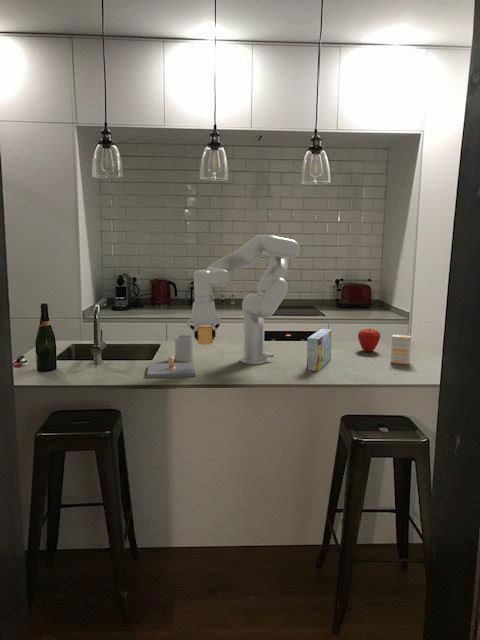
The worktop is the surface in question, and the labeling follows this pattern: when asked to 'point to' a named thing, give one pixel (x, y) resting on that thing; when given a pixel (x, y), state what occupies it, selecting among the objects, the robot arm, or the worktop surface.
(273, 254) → the robot arm
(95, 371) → the worktop surface
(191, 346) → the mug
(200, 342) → the orange cylinder
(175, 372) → the base
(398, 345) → the supplement box
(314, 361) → the snack box
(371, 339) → the apple
